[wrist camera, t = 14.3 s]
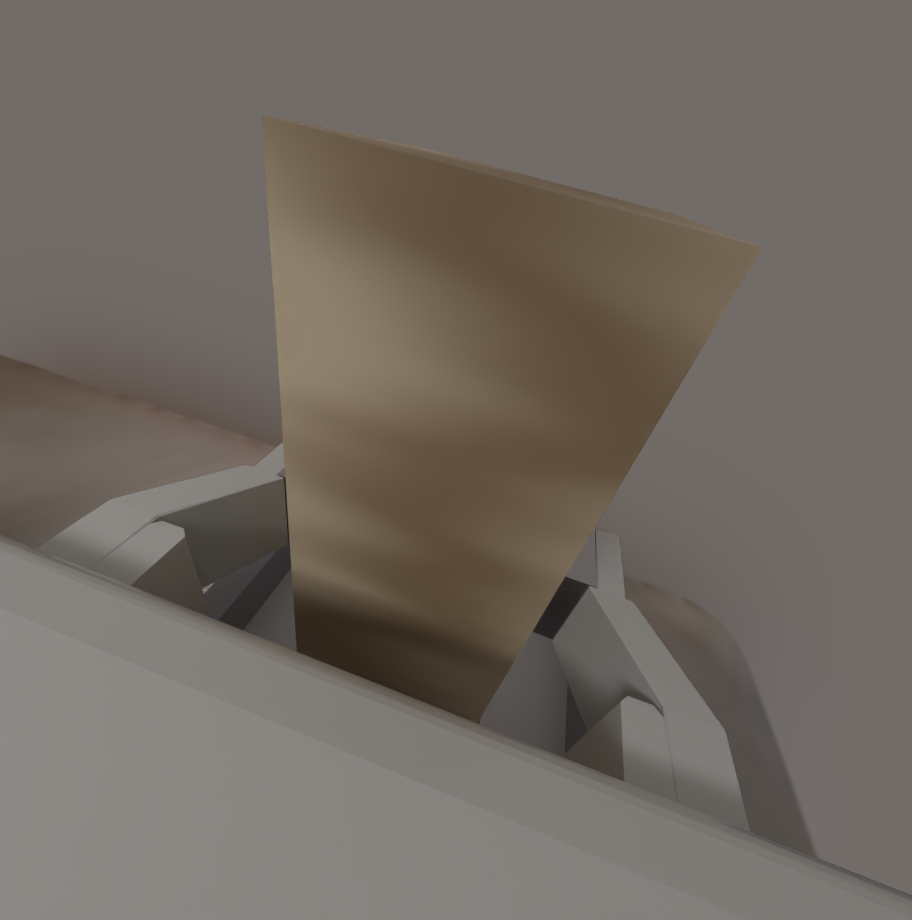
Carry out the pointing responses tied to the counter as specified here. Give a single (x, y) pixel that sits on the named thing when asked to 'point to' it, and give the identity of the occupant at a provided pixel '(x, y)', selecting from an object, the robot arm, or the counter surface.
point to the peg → (462, 392)
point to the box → (509, 712)
